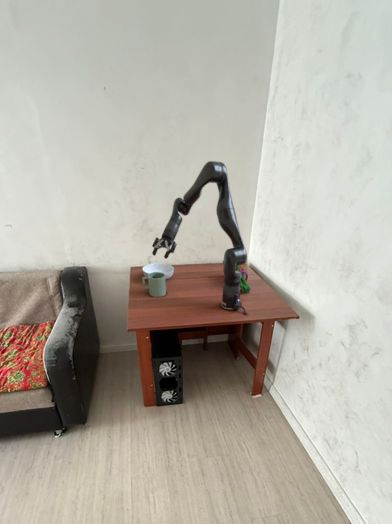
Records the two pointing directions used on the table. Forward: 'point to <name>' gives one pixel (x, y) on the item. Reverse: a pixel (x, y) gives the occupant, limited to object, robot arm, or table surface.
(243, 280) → the bouquet
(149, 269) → the serving bowl
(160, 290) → the green coffee mug
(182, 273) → the table surface
